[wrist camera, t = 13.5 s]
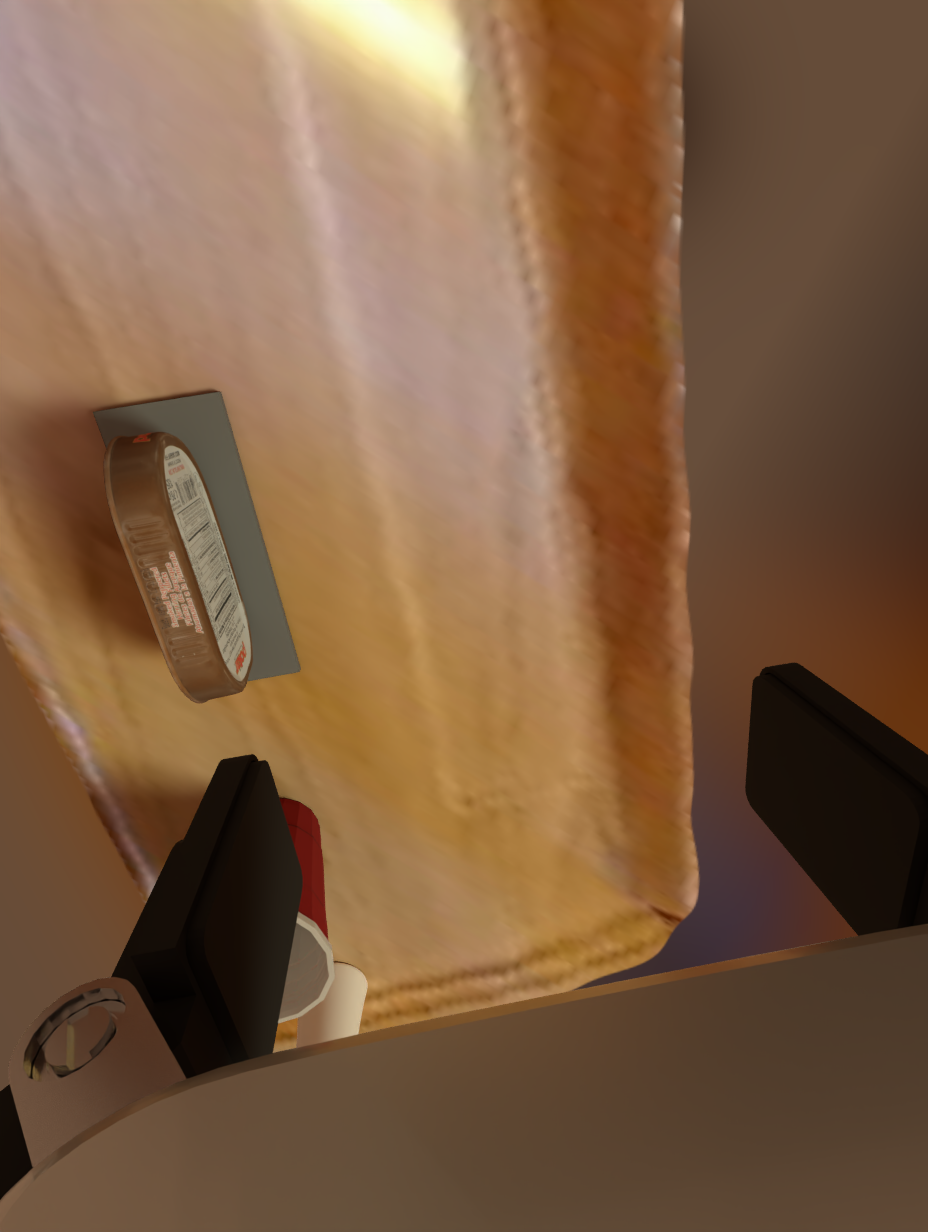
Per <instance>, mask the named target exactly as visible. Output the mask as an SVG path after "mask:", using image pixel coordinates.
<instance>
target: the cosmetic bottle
mask: <svg viewBox="0 0 928 1232" xmlns="http://www.w3.org/2000/svg"><path fill="white" fill-rule="evenodd" d="M334 972H335V978H334V980H333V982H332V984H331V986H330V988H329V990H328V992H327V994H326V996H325V998H324V1000H323V1001H321V1002H320V1003H319V1004H317V1005H316V1006H315V1007H313V1008H312V1009H311V1010H309V1011H308V1012H307V1013H305V1014H304V1015H303V1016H301V1017H298V1031H297V1048H298V1047H303V1046H307V1045H312V1044H316V1043H321V1042H326V1041H330V1040H335V1039H339V1038H344V1037H348V1036H353V1035H357V1034H358V1032H359V1026H360V1020H361V1015H362V1010H363V1005H364V1001H365V996H366V992H367V980H366V978H365V976H364V974H363V973H362V972H361V971H360V970H359V969H357V968H356V967H354V966H351V965H349V964H345V963H338V962H334Z"/></svg>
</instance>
